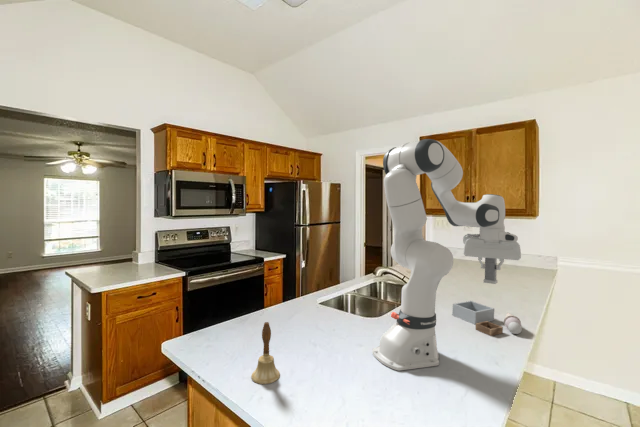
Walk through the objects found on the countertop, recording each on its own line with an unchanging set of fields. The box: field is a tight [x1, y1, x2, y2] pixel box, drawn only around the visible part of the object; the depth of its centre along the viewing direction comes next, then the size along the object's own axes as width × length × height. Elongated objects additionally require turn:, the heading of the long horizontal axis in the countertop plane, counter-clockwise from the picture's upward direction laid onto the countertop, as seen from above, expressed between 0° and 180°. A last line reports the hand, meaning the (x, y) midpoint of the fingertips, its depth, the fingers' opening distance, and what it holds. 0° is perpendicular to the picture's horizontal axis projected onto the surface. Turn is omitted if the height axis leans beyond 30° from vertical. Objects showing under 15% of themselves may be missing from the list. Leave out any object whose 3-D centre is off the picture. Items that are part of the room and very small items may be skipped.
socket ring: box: [475, 321, 504, 337], centre depth 126 cm, size 7×7×2 cm
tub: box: [451, 300, 495, 326], centre depth 141 cm, size 12×12×5 cm
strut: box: [483, 258, 498, 285], centre depth 127 cm, size 4×4×13 cm
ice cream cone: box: [503, 312, 522, 335], centre depth 129 cm, size 6×6×15 cm
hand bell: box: [250, 321, 281, 385], centre depth 91 cm, size 8×8×16 cm
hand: (490, 269), depth 126 cm, fingers closed on strut, 4 cm apart
